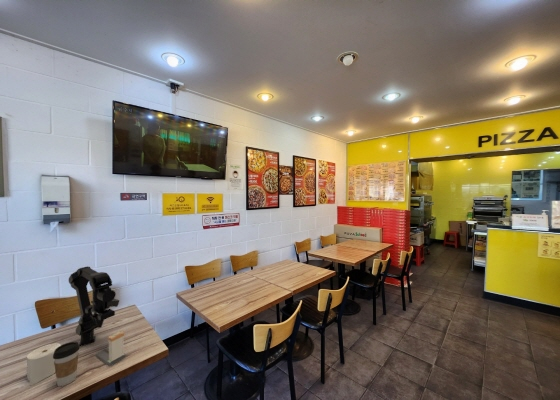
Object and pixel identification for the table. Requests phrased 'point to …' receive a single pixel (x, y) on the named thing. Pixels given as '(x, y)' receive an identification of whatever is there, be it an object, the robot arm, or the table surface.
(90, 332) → the robot arm
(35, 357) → the toilet tissue
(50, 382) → the table surface
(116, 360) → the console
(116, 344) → the cream box
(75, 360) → the coffee cup
